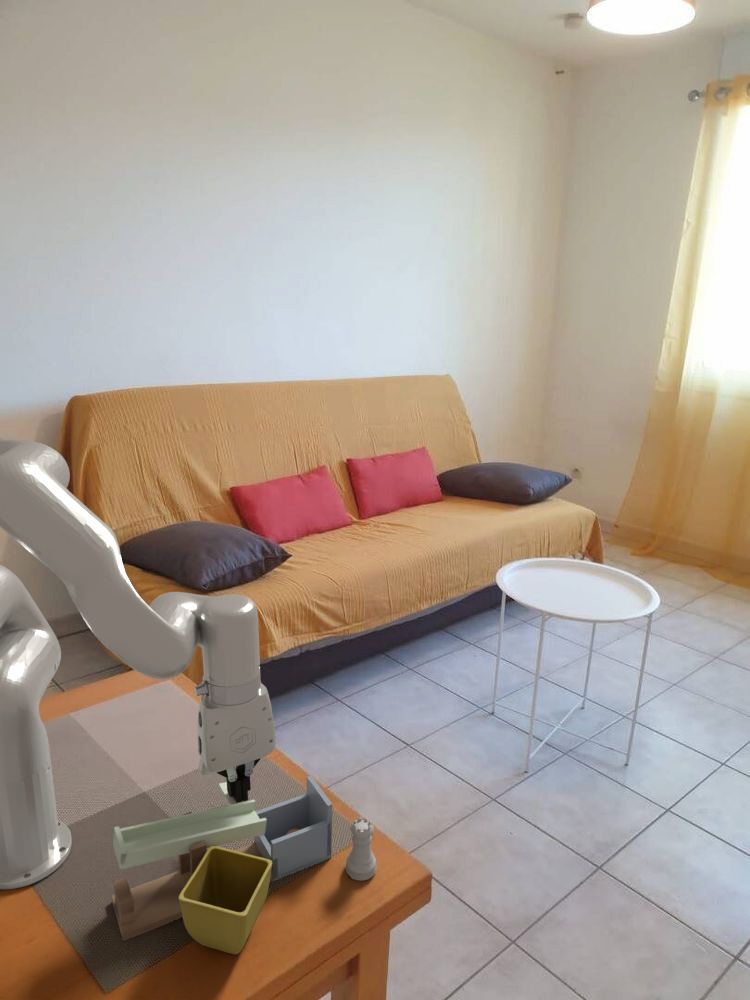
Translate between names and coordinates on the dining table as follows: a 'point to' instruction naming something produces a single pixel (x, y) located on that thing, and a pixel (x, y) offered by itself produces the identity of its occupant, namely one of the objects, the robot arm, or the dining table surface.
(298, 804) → the blue-grey box
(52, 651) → the robot arm
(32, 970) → the dining table surface
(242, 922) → the flower pot
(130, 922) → the catapult base
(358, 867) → the rook chess piece
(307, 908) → the dining table surface
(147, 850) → the lever
